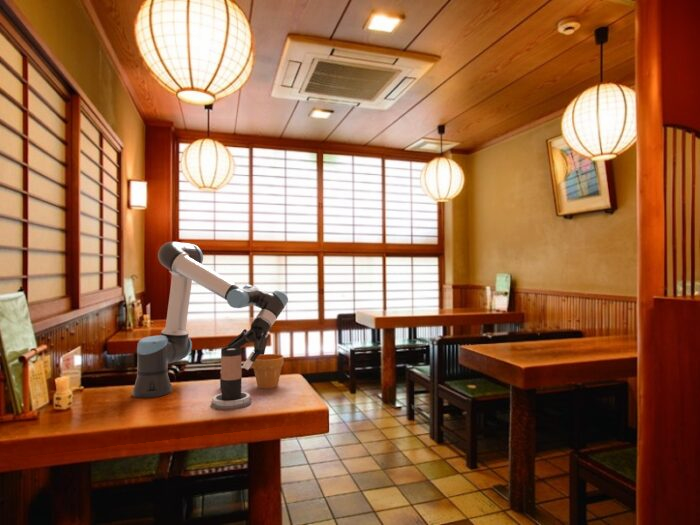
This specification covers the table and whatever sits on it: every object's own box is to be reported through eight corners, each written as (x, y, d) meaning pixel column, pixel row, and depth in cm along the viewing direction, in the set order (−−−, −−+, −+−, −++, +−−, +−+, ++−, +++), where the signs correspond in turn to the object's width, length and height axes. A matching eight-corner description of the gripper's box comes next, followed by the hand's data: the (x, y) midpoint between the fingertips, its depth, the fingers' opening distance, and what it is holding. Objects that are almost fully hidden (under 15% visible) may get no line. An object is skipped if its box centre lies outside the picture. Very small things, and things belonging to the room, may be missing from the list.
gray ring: (202, 407, 161) (202, 399, 161) (227, 396, 175) (227, 389, 175) (235, 411, 155) (235, 403, 156) (259, 400, 169) (259, 393, 170)
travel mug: (223, 404, 160) (223, 350, 161) (219, 399, 167) (219, 347, 167) (243, 401, 164) (243, 348, 164) (239, 396, 170) (238, 346, 171)
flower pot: (246, 385, 192) (245, 356, 192) (274, 380, 201) (274, 352, 201) (259, 392, 181) (259, 361, 181) (289, 386, 189) (289, 357, 190)
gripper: (289, 330, 173) (260, 375, 160) (248, 326, 188) (219, 367, 175) (279, 318, 169) (249, 363, 156) (238, 315, 184) (208, 356, 171)
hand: (233, 365), depth 166 cm, fingers open, 13 cm apart
